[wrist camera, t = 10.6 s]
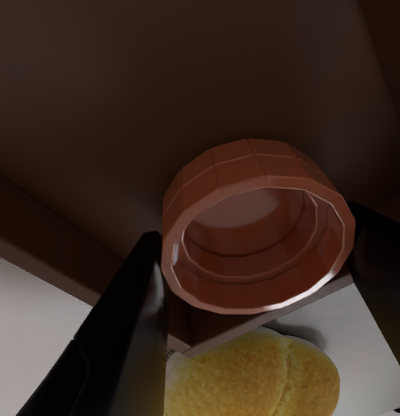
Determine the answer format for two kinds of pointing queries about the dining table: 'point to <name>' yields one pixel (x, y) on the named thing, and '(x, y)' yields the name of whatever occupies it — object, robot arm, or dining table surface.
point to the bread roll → (253, 378)
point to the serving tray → (181, 123)
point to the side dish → (252, 228)
